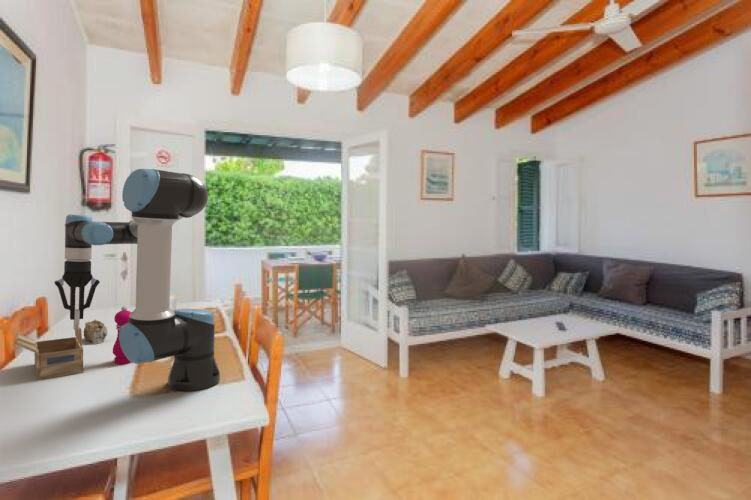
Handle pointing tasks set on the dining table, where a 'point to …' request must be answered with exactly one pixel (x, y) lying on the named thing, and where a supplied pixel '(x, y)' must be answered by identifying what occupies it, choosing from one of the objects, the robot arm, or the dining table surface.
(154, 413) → the dining table surface
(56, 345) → the carton
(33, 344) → the flap left
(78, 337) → the flap right
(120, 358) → the pepper mill
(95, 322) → the rock
